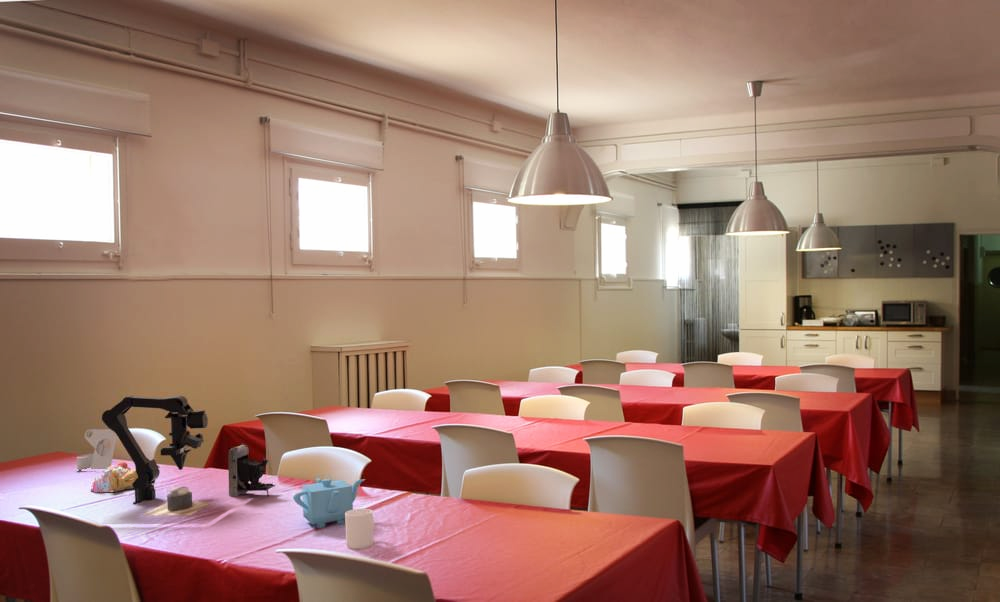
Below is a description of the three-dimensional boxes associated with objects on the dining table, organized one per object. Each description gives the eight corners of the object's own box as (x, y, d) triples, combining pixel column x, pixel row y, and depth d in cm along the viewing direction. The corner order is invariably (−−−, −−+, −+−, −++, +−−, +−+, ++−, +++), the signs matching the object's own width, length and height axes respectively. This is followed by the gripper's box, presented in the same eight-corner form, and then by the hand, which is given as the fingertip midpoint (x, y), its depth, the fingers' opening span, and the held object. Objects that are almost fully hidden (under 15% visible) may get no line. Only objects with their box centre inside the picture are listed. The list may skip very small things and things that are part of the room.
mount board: (142, 518, 299) (142, 515, 299) (167, 505, 317) (167, 502, 317) (190, 518, 297) (190, 515, 297) (213, 505, 315) (213, 501, 315)
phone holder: (74, 471, 387) (72, 432, 386) (89, 466, 397) (88, 428, 396) (106, 472, 383) (104, 432, 382) (121, 467, 392) (119, 428, 392)
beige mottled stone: (166, 499, 304) (166, 491, 304) (176, 494, 312) (176, 486, 312) (183, 499, 304) (182, 491, 304) (192, 494, 311) (192, 486, 311)
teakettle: (290, 528, 279) (288, 484, 279) (318, 513, 297) (316, 472, 297) (341, 531, 274) (339, 487, 274) (367, 516, 292) (365, 474, 292)
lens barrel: (163, 510, 304) (162, 497, 304) (174, 504, 313) (174, 491, 312) (185, 510, 303) (184, 496, 303) (196, 504, 312) (195, 491, 311)
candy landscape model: (162, 483, 356) (161, 461, 356) (111, 496, 336) (110, 473, 336) (126, 478, 369) (125, 457, 369) (75, 490, 349) (74, 468, 349)
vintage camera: (264, 501, 320) (265, 448, 320) (227, 498, 323) (227, 447, 323) (276, 495, 330) (276, 444, 329) (240, 493, 333) (240, 442, 332)
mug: (362, 536, 267) (361, 504, 267) (385, 539, 264) (383, 506, 264) (340, 548, 256) (339, 514, 256) (363, 550, 253) (362, 516, 253)
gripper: (187, 433, 313) (189, 474, 313) (210, 424, 331) (211, 464, 332) (158, 433, 314) (160, 475, 314) (183, 425, 333) (185, 464, 333)
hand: (180, 469), depth 323 cm, fingers closed
